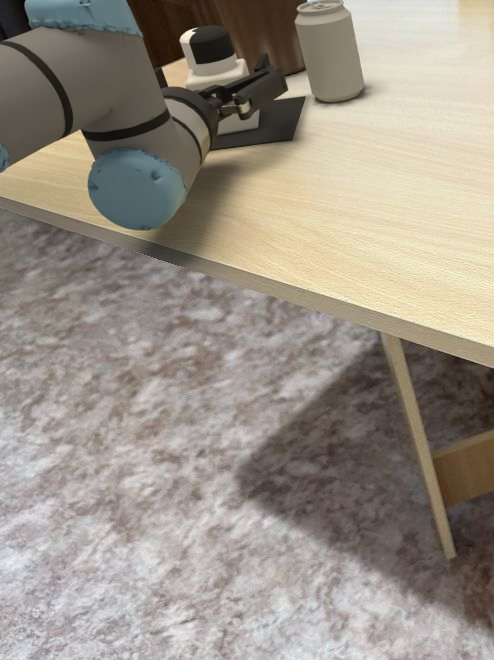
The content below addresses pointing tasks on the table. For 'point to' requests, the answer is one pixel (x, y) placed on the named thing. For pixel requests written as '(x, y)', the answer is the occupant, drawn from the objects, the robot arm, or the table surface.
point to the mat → (267, 125)
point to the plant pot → (264, 31)
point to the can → (329, 50)
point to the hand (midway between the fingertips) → (215, 71)
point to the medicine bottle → (215, 68)
